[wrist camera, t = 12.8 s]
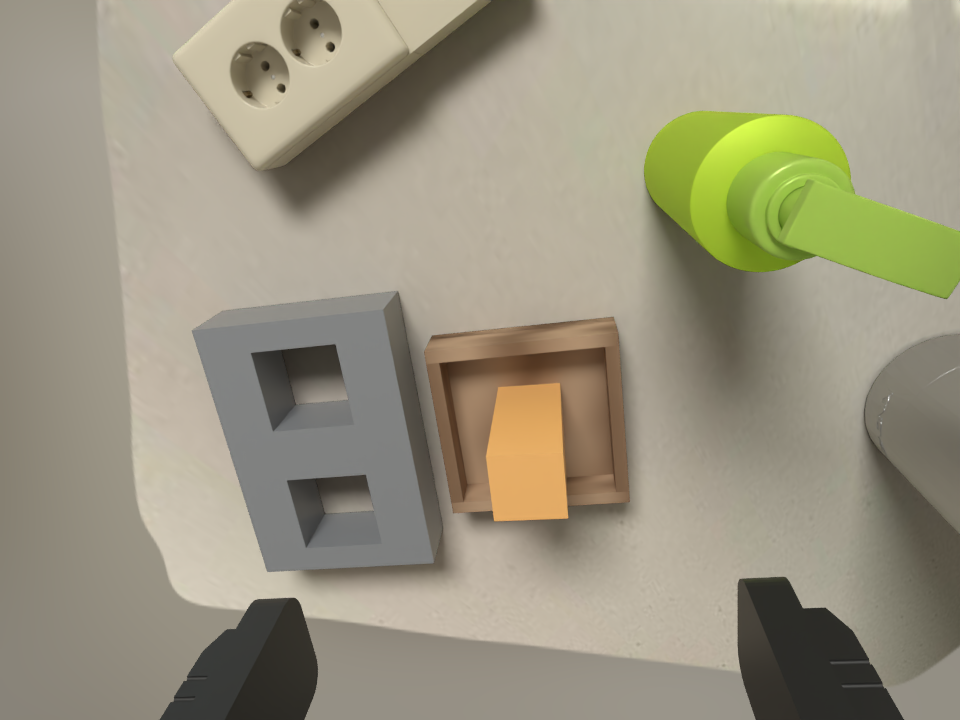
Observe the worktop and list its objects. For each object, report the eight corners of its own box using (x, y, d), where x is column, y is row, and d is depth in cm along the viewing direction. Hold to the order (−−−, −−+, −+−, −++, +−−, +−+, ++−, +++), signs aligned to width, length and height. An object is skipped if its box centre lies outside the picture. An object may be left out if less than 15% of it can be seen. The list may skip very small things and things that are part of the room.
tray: (613, 316, 41) (618, 332, 38) (624, 477, 45) (629, 502, 42) (432, 335, 42) (424, 351, 39) (459, 488, 46) (453, 513, 43)
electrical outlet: (529, -47, 31) (254, 174, 36) (531, -30, 34) (282, 168, 40) (441, -198, 29) (165, 57, 34) (454, -163, 33) (204, 61, 38)
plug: (560, 383, 42) (563, 452, 33) (564, 438, 43) (568, 518, 35) (498, 387, 42) (485, 456, 34) (504, 441, 44) (493, 521, 35)
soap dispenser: (738, 238, 38) (919, 364, 20) (628, 199, 38) (703, 290, 19) (787, 137, 36) (1041, 173, 17) (669, 96, 36) (800, 88, 17)
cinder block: (397, 291, 41) (383, 309, 38) (443, 527, 48) (434, 563, 44) (222, 310, 43) (191, 330, 39) (288, 536, 49) (267, 571, 46)
